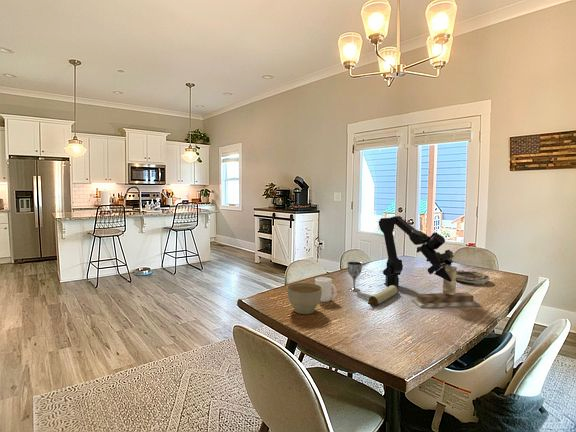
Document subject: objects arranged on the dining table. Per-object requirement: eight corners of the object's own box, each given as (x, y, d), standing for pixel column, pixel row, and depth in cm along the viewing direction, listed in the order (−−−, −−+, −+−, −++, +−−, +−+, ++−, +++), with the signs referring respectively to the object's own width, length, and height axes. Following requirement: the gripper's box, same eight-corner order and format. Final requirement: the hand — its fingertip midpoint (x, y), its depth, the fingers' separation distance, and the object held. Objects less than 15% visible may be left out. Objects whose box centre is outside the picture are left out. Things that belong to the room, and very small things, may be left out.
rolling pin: (373, 310, 157) (374, 299, 156) (363, 307, 160) (363, 296, 160) (402, 293, 181) (402, 284, 180) (392, 291, 184) (392, 282, 184)
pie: (482, 276, 217) (483, 268, 216) (505, 289, 190) (506, 281, 189) (437, 275, 220) (437, 267, 219) (453, 288, 193) (453, 279, 192)
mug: (340, 300, 168) (341, 280, 167) (331, 305, 162) (331, 284, 161) (321, 295, 176) (321, 276, 175) (311, 299, 170) (311, 279, 169)
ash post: (442, 292, 165) (444, 266, 164) (446, 290, 168) (447, 265, 167) (452, 295, 162) (453, 268, 161) (455, 292, 165) (456, 266, 164)
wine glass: (352, 292, 181) (353, 265, 179) (343, 288, 188) (344, 262, 186) (364, 290, 184) (365, 263, 183) (355, 287, 191) (355, 261, 190)
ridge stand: (420, 307, 159) (420, 298, 159) (411, 301, 168) (411, 292, 168) (479, 305, 162) (480, 296, 162) (467, 299, 171) (468, 291, 171)
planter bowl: (311, 320, 144) (312, 295, 143) (280, 312, 152) (280, 289, 152) (327, 308, 158) (328, 285, 157) (298, 302, 166) (298, 280, 165)
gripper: (435, 247, 159) (459, 274, 152) (450, 242, 172) (472, 267, 166) (418, 260, 165) (440, 287, 159) (433, 255, 179) (454, 280, 172)
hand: (452, 280), depth 164 cm, fingers closed on ash post, 4 cm apart
